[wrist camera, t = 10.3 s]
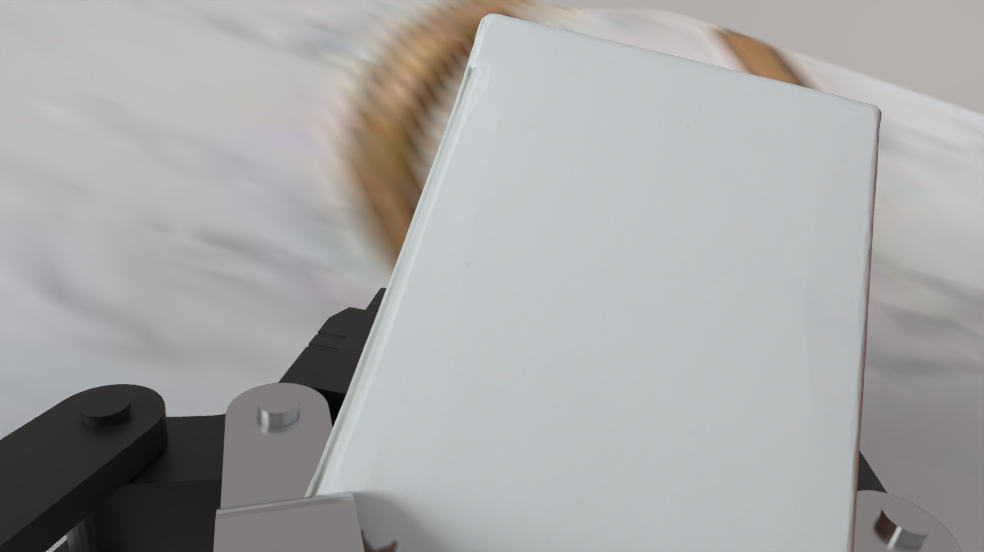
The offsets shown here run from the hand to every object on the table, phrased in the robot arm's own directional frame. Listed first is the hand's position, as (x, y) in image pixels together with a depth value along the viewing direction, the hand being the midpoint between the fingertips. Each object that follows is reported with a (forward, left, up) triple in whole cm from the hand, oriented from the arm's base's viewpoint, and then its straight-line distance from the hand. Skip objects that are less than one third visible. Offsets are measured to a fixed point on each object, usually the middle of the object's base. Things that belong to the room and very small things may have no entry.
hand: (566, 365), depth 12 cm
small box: (0, -1, -6) cm, 6 cm away
